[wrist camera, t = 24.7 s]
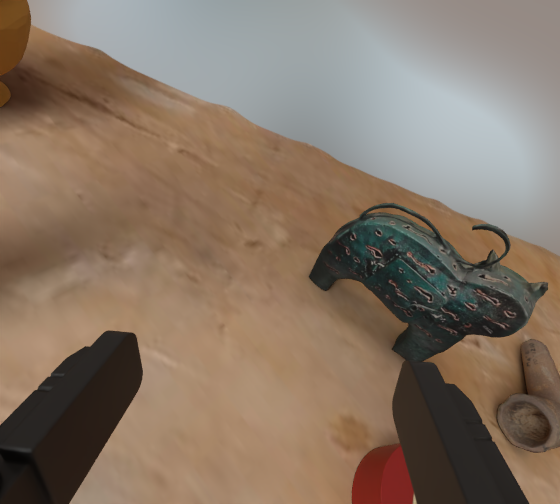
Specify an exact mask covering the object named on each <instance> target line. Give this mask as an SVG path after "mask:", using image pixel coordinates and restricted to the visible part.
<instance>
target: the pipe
mask: <svg viewBox="0 0 560 504" xmlns="http://www.w3.org/2000/svg"><path fill="white" fill-rule="evenodd" d="M521 353H522V361H523V366H524V373H525V381H526V387H527V392H528V395H527V394H522V393H515V394H512V395H510V397H509V398H508V399H507V400H506V401H505V402H504V403H503V404H501V405H500V406H499V409H498V414H497V420H498V423H499V426H500V428H501V430H502V431H503V433H504V434H505V435H506V437H507V439H508V440H509V441H510V442H511V443H512V444H513V445H514V446H516V447H519V448H523V449H525V450H528V451H531V452H534V453H538V452H545V451H547V450H550V449H554V448H558V447H560V376H559V373H558V371H557V369H556V366H555V364H554V361H553V359H552V357H551V355H550V353H549V350H548V348H547V347H546V345H544V344H543V343H542V342H539V341H537V340H533V339H530V340H527V341H525V342H523V343H522V345H521Z"/></svg>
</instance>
